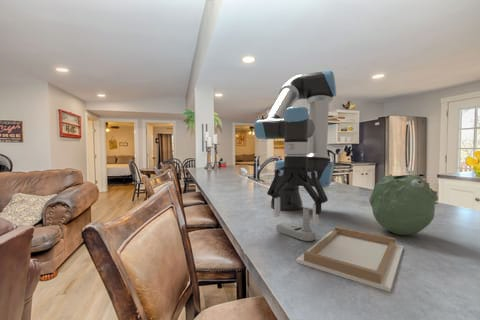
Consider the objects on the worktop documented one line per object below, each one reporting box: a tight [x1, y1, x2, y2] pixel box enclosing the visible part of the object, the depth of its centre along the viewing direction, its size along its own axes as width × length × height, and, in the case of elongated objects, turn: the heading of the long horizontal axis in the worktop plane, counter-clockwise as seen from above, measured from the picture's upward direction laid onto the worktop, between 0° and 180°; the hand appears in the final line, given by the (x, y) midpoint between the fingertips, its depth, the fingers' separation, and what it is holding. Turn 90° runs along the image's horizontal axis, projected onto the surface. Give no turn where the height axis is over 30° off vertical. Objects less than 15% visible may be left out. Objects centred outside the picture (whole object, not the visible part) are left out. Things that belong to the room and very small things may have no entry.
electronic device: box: [276, 207, 316, 242], centre depth 79 cm, size 5×10×15 cm
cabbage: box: [369, 173, 439, 236], centre depth 79 cm, size 16×19×20 cm
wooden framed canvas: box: [295, 226, 404, 293], centre depth 64 cm, size 26×20×3 cm
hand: (295, 220), depth 79 cm, fingers open, 13 cm apart
